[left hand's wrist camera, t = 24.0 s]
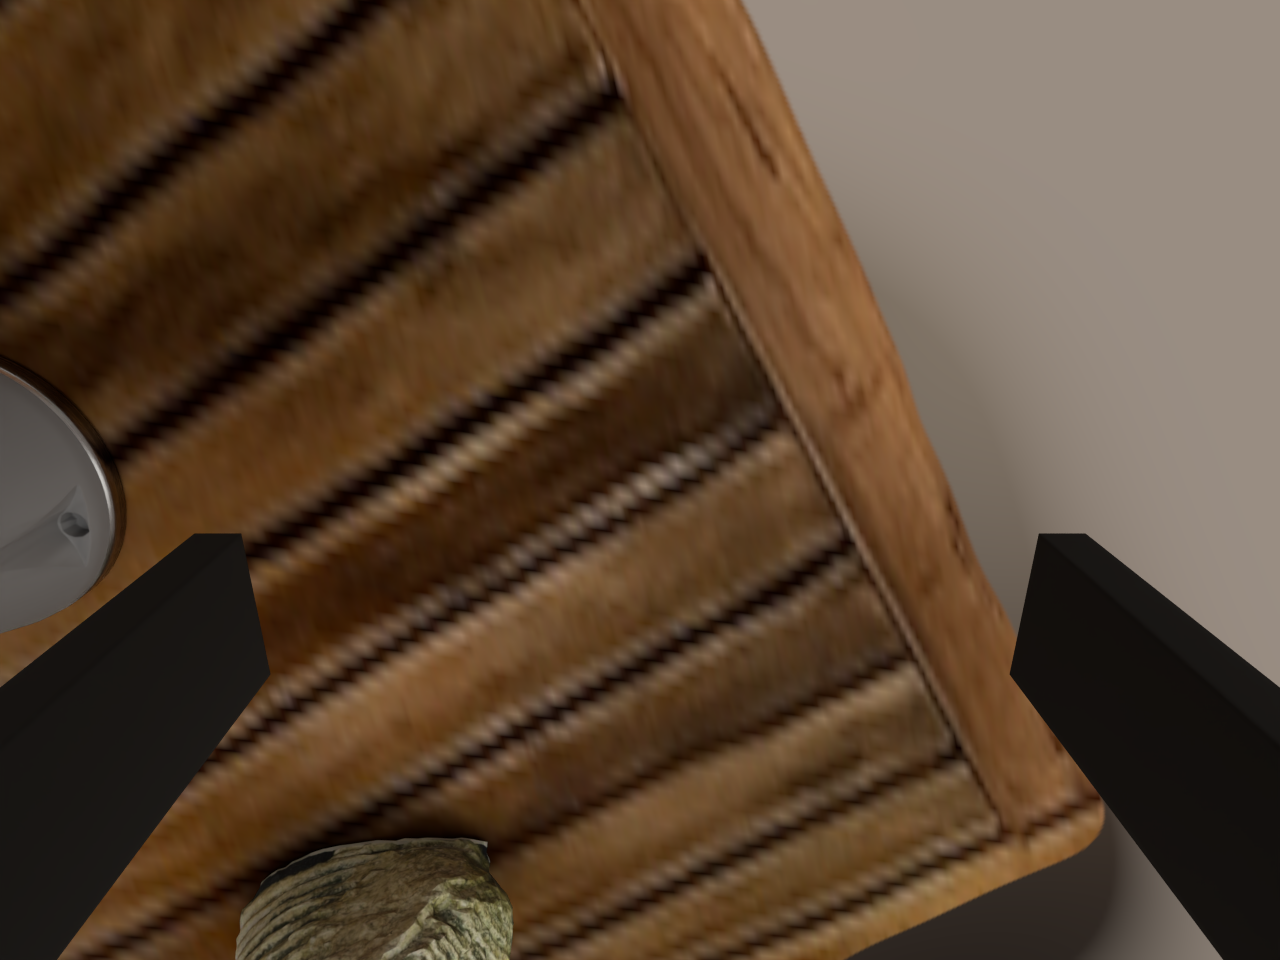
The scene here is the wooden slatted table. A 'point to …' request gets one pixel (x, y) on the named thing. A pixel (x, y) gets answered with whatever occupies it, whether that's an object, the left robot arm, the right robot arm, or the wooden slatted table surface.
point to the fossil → (381, 905)
